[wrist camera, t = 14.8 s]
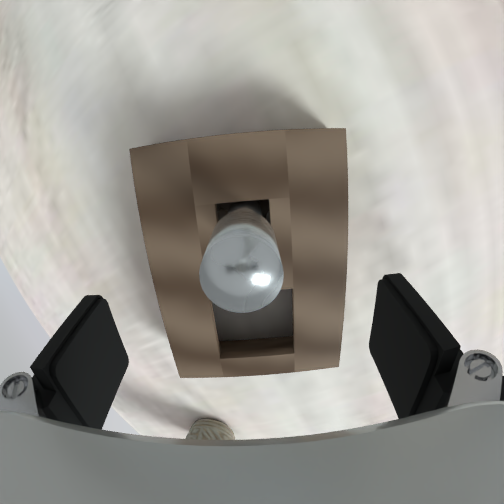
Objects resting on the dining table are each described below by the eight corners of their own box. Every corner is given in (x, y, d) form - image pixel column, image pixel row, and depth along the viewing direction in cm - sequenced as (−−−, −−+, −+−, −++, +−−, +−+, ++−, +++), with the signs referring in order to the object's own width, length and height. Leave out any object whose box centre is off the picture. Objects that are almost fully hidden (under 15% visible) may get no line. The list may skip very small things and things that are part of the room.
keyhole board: (149, 146, 25) (129, 149, 21) (328, 129, 25) (345, 128, 20) (187, 347, 33) (180, 377, 29) (328, 337, 33) (338, 366, 28)
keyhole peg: (210, 181, 27) (173, 225, 13) (273, 175, 26) (298, 214, 13) (217, 240, 29) (193, 328, 16) (277, 235, 28) (300, 320, 15)
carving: (192, 409, 37) (180, 482, 26) (243, 423, 39) (242, 494, 27) (181, 430, 40) (169, 496, 28) (228, 443, 41) (224, 507, 29)
